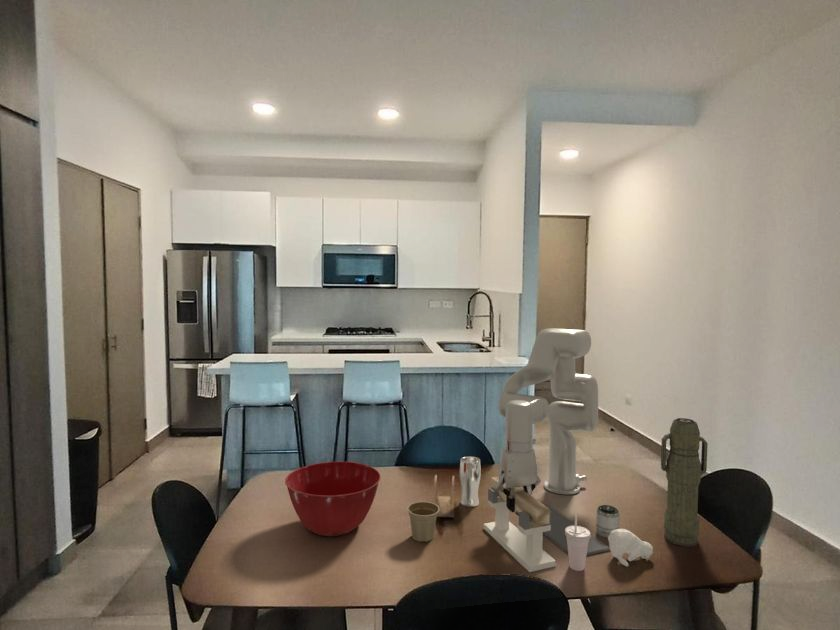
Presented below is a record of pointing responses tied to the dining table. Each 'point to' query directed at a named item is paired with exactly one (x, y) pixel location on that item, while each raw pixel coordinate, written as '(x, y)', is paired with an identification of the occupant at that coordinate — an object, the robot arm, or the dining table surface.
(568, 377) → the robot arm
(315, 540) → the dining table surface
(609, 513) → the camera lens
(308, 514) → the mixing bowl
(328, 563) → the dining table surface
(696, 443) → the thermos
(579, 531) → the smoothie
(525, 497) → the rail
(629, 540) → the white animal figurine
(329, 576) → the dining table surface
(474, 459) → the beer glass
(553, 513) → the mat
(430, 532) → the flower pot
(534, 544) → the hook stand
